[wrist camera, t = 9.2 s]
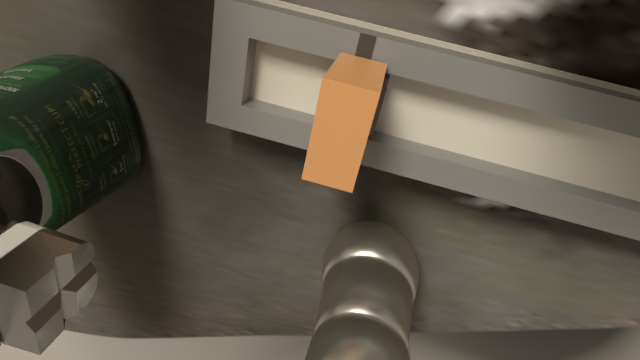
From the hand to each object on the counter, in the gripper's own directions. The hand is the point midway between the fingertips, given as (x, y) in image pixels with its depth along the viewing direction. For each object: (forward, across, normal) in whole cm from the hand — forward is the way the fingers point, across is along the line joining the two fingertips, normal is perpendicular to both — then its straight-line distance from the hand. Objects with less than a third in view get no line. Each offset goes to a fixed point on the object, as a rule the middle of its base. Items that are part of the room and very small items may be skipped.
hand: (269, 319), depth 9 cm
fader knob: (+17, 0, +1) cm, 17 cm away
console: (+19, -5, +1) cm, 20 cm away
